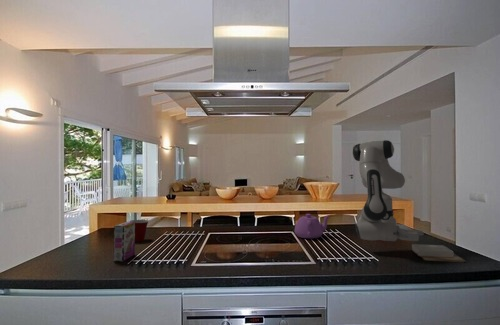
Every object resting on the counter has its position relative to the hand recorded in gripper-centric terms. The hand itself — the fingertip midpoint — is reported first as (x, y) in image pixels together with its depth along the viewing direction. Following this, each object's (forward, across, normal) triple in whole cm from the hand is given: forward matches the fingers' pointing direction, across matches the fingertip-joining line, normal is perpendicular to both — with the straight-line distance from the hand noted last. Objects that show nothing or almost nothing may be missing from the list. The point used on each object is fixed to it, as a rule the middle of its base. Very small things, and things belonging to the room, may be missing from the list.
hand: (422, 232), depth 136 cm
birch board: (+6, 0, +11) cm, 12 cm away
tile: (-3, 0, +8) cm, 9 cm away
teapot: (-51, +28, +11) cm, 60 cm away
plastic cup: (-152, 0, +11) cm, 152 cm away
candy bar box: (-139, -30, +11) cm, 142 cm away
